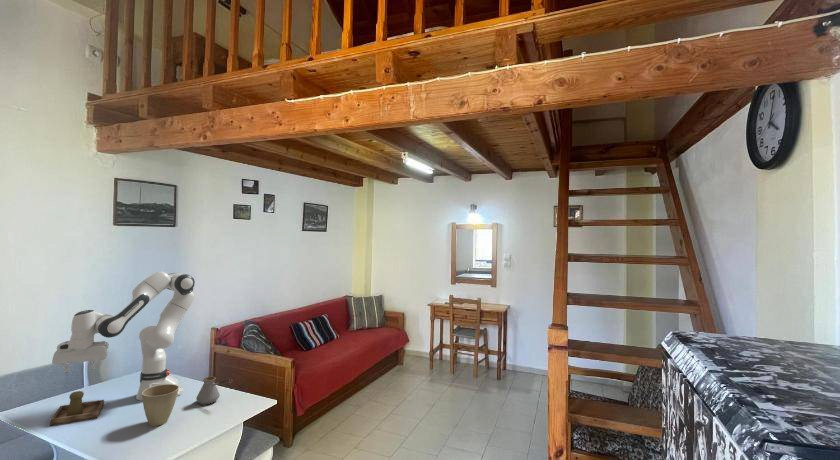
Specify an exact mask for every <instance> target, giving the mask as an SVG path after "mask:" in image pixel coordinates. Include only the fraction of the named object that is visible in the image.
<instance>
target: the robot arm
mask: <svg viewBox="0 0 840 460" xmlns="http://www.w3.org/2000/svg"><path fill="white" fill-rule="evenodd" d="M195 283H196V281H195V278H194V277H193V276H192V275H190V274H188V273H187V274H186V273H181V272H178V273H177V272H173V273H167V272H164V271H162V270H161V271H157V272H155V273H153V274H151V275H150V276H148V277H145V279H144V280H142V281H141V282H140V283H139V284H137V286H135V287H134V289H133V290H132V291H131V294H132V299H131V301H130V302H129V303H128V304H127V305H126V306H125V307H124V308H123V309H122V310H121V311H120V312H118V313H117V314H116V315H111V314H105V313H101V312H98V311H96V310H93V309H86V310H85V309H84V310H81V311H78V312H76V313H75V314H73V317H72V321H71V325H70V326H71V329H70V331H71V336H70V339H69V340H67V341H62V342H61V343H59V344H57V346H56V351H54V353H53V356H52V359H51V364H52V365H54V366H57V365H61V367H62V368H63V369H64V373H66V374H67V373H69V372H70V367H67V366H68V364H75V363H76V364H77V363H85V362H86V363H87V362H93V365H92V364H91V365H90V366H89V370H90V371H91V370H94V369H95V368H96V364H97V363H98V361H104V360H106V359H107V357H108V349H109V342H108V341H105V340H103V341H102V340H101V341H95V335H96V334H99V335H101V336H102V337H104V338H108V339H109V338H114V337H117V336H119V335H120V334H121V333H122V332H123V331H124V330H125V328H126V327H127V325H128V323H129V322H130V321H131V320H132V319H133V318H135V316H136V315H138V313H140V312H141V311H142V310H143V309H144V308H145V307H146V305H148V304H149V303H150V302H151V301H153V299H155V298H156V297H157V296H158V295H159V294H161V293H162V292H163V291H165V290H169V291H173V295H172V297H171V299H170V301H168V304H166V306H165V307H164V309H162V311H161V313H160V315H159V320H158V322H157V324H156V325H148V326H146V327H143V328H142V329H141V330H140V332H139V333H138V334H139V336H138V338H139V340H140V346H141V354H142V365H141V372H140V375H139V383H140V384H139V388H138V391H137V394H136V396H135V399H136V400H137V401H142V402H143V399H142V392H143V391H144V390H146V389H148V388H150V387H153V386H158V385H164V384H174V385H177V386H179V389H178V393H177V397H178V396H181V395H182V394H183V393H184V388H183V386H181V385H180V382H179V379H177V378H175V377H174V376H171V375H170V374H171V371H170V369H169V368H166V365H167V364H166V363H167V353H166V352H165V349H167V348H169V347H170V346H171V345H172V344H173V343H174V341H175V334H176V330H177V328H178V327H179V326H178V325H179V323H180V322H181V320H182V319H183V318H184V316H185V314H186V313H187V311H188V310H189V309H190V307H191V305H192V304H193V301H194V299H195V293H194V292H193V291H194V287H195Z"/></svg>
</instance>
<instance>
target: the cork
mask: <svg viewBox="0 0 840 460" xmlns="http://www.w3.org/2000/svg"><path fill="white" fill-rule="evenodd" d="M84 394H85V393H84V391H83V390H82V391H81V390H78V391H73V392H71V393H70V395H69V396H68V397H69V400H70V401H69V404H68V405H69V408H68V412H67V416H73V415H79V414H83V406H82V403H83V397H84ZM67 416H66V417H67Z"/></svg>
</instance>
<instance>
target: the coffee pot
mask: <svg viewBox="0 0 840 460" xmlns="http://www.w3.org/2000/svg"><path fill="white" fill-rule="evenodd" d="M216 379H217V377H215V376H207V377H204V378H203V379H202V381H203V384H202V386H201V388H200V390H199V391H198V393H197V396H196V399H195V400H196V402H198V403H199V404H200V405H202V404H203V405H205V406H206V404H207V405H211V404H213V402H214V403H215V402H216V401H217V400H218V399H219V398H220V392H219V390H218V387H217V385H220V384H224V383H226V382H229V383H230V384H231V383H232V378H227V379H223V380H221V381H218V382H215V381H216ZM230 381H231V382H230ZM210 403H211V404H210ZM203 405H202V406H203Z"/></svg>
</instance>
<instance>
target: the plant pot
mask: <svg viewBox="0 0 840 460" xmlns="http://www.w3.org/2000/svg"><path fill="white" fill-rule="evenodd" d="M179 386H180V385H179ZM179 386H177V385H174V384H164V385H158V386H153V387H150V388H148V389H146V390H144V391H143V392H142V399H143V401H142V405H143V410H144V414H145V417H146V420H147V423H148V425H149V426H151V427H158V426H161V425H164V424H166V423H167V422H168V420H169V419H170V416H171V413H172V412H173V409H174V407H175V405H176V400H177V398H178V396H177V393H178V389H179Z"/></svg>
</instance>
